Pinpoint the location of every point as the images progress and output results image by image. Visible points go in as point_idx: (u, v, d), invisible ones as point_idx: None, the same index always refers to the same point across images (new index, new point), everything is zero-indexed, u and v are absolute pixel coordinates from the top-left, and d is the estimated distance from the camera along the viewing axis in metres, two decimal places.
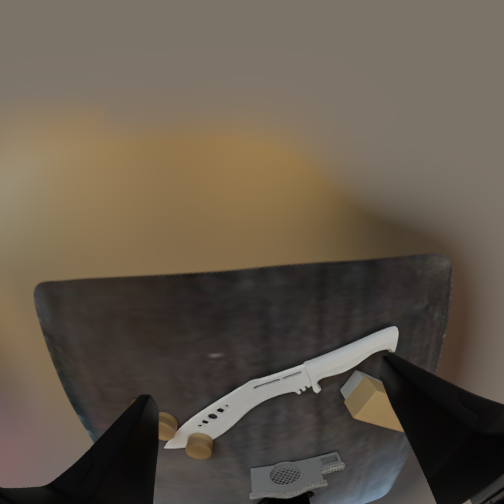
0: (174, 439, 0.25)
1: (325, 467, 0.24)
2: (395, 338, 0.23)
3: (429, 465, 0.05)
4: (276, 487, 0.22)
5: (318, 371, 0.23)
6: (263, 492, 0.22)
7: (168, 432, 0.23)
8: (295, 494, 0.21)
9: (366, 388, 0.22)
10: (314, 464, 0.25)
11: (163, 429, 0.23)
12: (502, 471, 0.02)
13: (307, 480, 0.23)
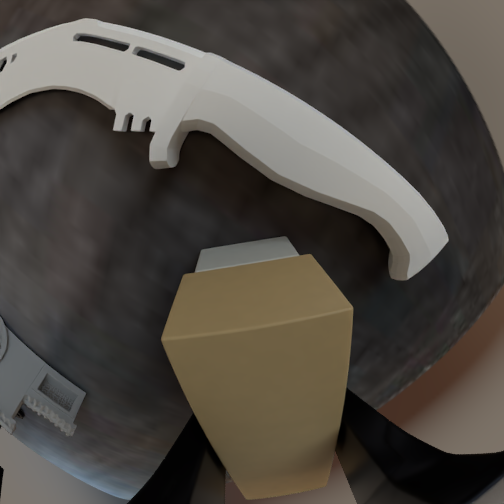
0: None
1: (37, 398, 0.08)
2: (436, 248, 0.08)
3: (359, 496, 0.05)
4: None
5: (225, 87, 0.06)
6: None
7: None
8: None
9: (300, 281, 0.06)
10: (28, 372, 0.09)
11: None
12: None
13: None
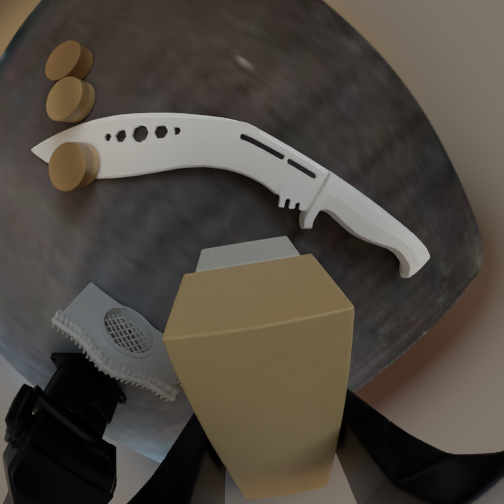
0: (55, 140, 0.14)
1: None
2: (423, 262, 0.17)
3: (359, 496, 0.05)
4: (101, 337, 0.14)
5: (339, 195, 0.15)
6: (77, 327, 0.13)
7: (68, 104, 0.11)
8: (119, 374, 0.13)
9: (301, 281, 0.06)
10: None
11: (68, 95, 0.11)
12: None
13: (150, 367, 0.15)
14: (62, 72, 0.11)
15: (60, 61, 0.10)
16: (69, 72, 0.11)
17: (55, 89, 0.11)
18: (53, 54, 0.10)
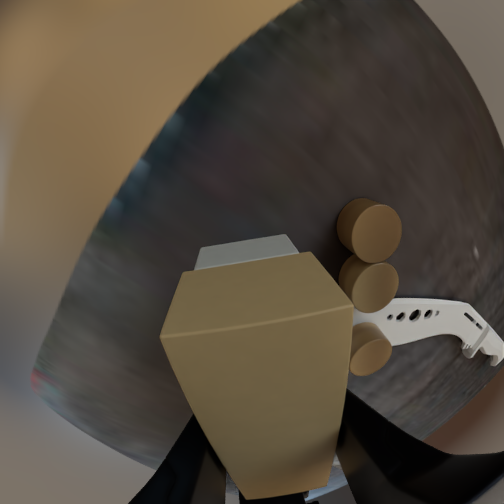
0: None
1: None
2: (503, 356, 0.19)
3: (358, 496, 0.05)
4: None
5: (488, 338, 0.17)
6: None
7: (382, 298, 0.13)
8: None
9: (300, 278, 0.06)
10: None
11: (384, 288, 0.13)
12: None
13: None
14: (378, 255, 0.13)
15: (376, 236, 0.12)
16: (386, 258, 0.13)
17: (368, 276, 0.13)
18: (365, 219, 0.12)
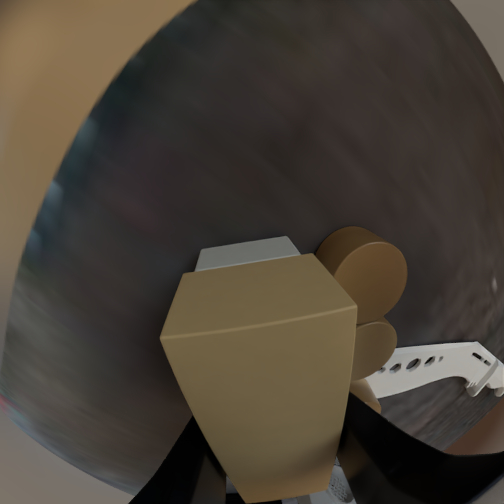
0: None
1: None
2: None
3: (358, 496, 0.05)
4: None
5: (496, 374, 0.13)
6: None
7: (372, 363, 0.09)
8: None
9: (302, 279, 0.06)
10: None
11: (376, 351, 0.09)
12: None
13: None
14: (370, 312, 0.09)
15: (368, 288, 0.08)
16: (382, 315, 0.09)
17: None
18: (352, 264, 0.08)
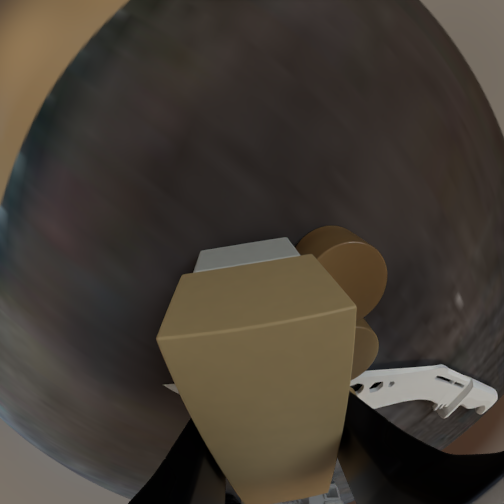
0: None
1: (328, 501, 0.15)
2: (493, 403, 0.15)
3: (358, 496, 0.05)
4: None
5: (471, 395, 0.13)
6: None
7: (352, 368, 0.09)
8: None
9: (301, 280, 0.06)
10: None
11: (356, 356, 0.09)
12: None
13: None
14: None
15: (344, 290, 0.08)
16: (362, 317, 0.09)
17: None
18: (324, 265, 0.08)
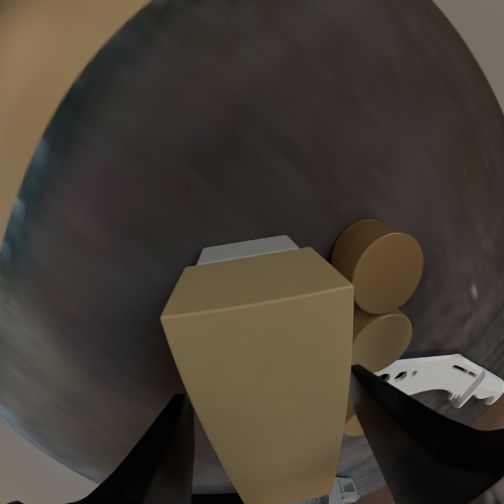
0: None
1: (346, 495, 0.15)
2: (501, 394, 0.15)
3: (393, 483, 0.05)
4: None
5: (483, 384, 0.13)
6: None
7: (388, 355, 0.09)
8: None
9: (300, 267, 0.06)
10: (336, 487, 0.16)
11: (393, 343, 0.09)
12: (462, 503, 0.02)
13: None
14: (390, 302, 0.09)
15: (388, 278, 0.08)
16: (400, 305, 0.09)
17: (373, 332, 0.09)
18: (373, 255, 0.08)
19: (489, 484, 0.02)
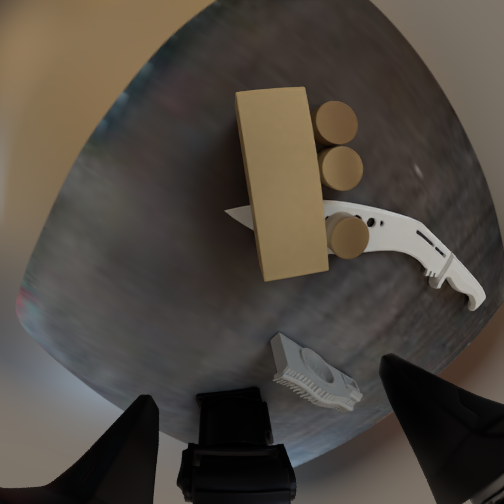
0: None
1: (349, 387, 0.22)
2: (482, 300, 0.22)
3: (429, 465, 0.05)
4: (313, 378, 0.19)
5: (455, 268, 0.20)
6: (301, 375, 0.18)
7: (350, 178, 0.17)
8: (329, 401, 0.18)
9: None
10: (339, 377, 0.23)
11: (350, 168, 0.16)
12: (502, 471, 0.02)
13: (338, 390, 0.20)
14: (341, 138, 0.16)
15: (336, 123, 0.15)
16: None
17: (334, 155, 0.16)
18: (325, 109, 0.15)
19: None
